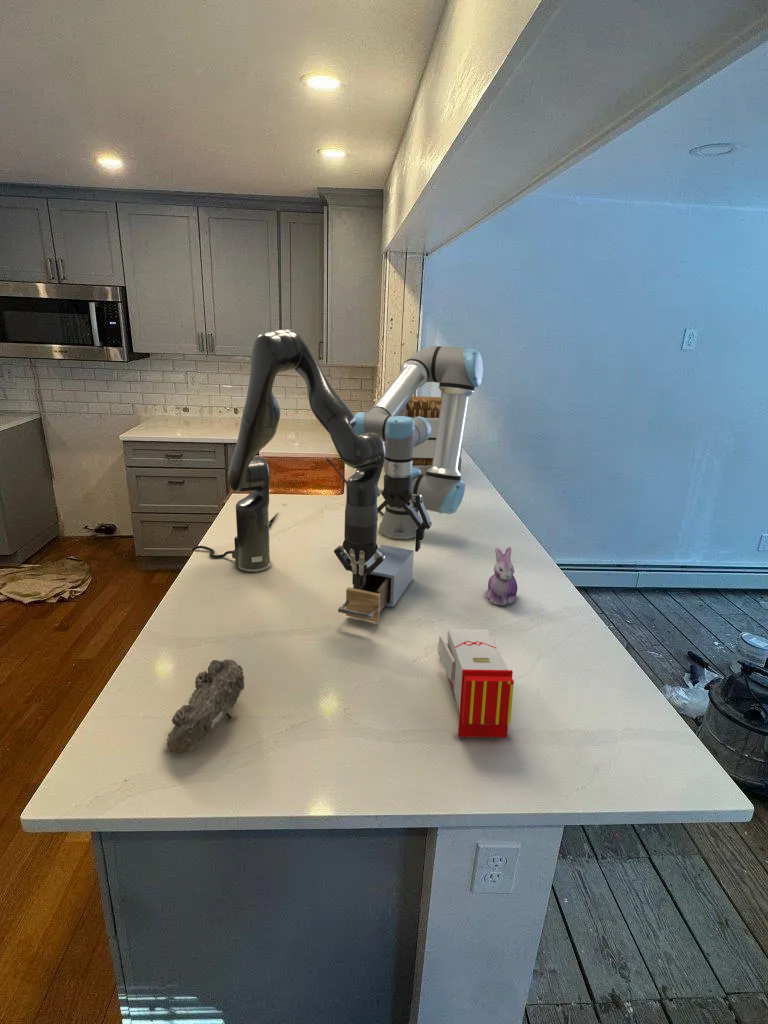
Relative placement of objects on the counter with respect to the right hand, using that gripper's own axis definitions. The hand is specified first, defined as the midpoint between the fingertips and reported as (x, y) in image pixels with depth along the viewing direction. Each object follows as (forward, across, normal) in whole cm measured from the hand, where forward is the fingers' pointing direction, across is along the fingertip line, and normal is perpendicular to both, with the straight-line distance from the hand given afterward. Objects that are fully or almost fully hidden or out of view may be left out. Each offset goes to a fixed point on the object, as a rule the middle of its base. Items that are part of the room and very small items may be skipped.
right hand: (394, 545), depth 161 cm
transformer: (+13, -24, +115) cm, 118 cm away
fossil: (+10, -14, -68) cm, 71 cm away
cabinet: (+11, 0, -6) cm, 13 cm away
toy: (+10, +31, -42) cm, 53 cm away
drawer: (+10, 0, -19) cm, 22 cm away
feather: (+12, -56, +32) cm, 66 cm away
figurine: (+11, +31, +2) cm, 33 cm away
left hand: (-1, 0, -28) cm, 28 cm away
